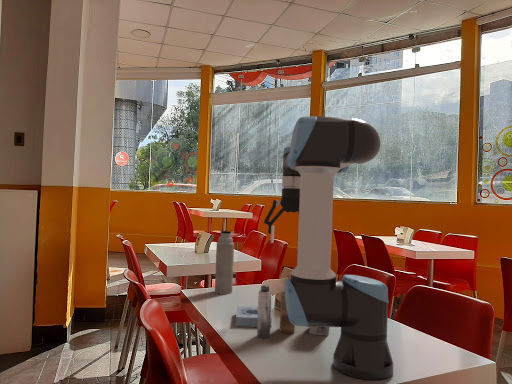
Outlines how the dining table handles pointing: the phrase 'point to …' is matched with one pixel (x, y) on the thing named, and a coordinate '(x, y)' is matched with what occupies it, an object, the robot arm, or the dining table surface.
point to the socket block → (247, 316)
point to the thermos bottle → (224, 263)
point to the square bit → (285, 317)
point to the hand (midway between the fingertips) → (289, 243)
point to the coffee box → (319, 330)
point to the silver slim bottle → (264, 312)
